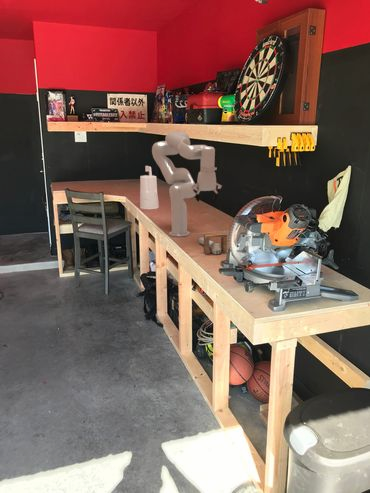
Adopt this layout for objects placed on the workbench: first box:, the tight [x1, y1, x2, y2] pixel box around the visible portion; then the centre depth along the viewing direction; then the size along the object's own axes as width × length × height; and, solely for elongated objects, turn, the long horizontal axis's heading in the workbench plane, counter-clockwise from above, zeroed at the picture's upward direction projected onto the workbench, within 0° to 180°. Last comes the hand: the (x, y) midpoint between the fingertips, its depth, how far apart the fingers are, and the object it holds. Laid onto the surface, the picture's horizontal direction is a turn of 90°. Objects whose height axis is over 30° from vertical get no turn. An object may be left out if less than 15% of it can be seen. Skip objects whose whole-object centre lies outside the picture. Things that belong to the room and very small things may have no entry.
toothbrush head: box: [197, 236, 222, 255], centre depth 235 cm, size 5×7×25 cm
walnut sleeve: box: [203, 232, 228, 256], centre depth 226 cm, size 4×12×10 cm, turn 106°
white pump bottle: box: [139, 165, 160, 210], centre depth 343 cm, size 15×15×33 cm
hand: (206, 200), depth 237 cm, fingers open, 9 cm apart
